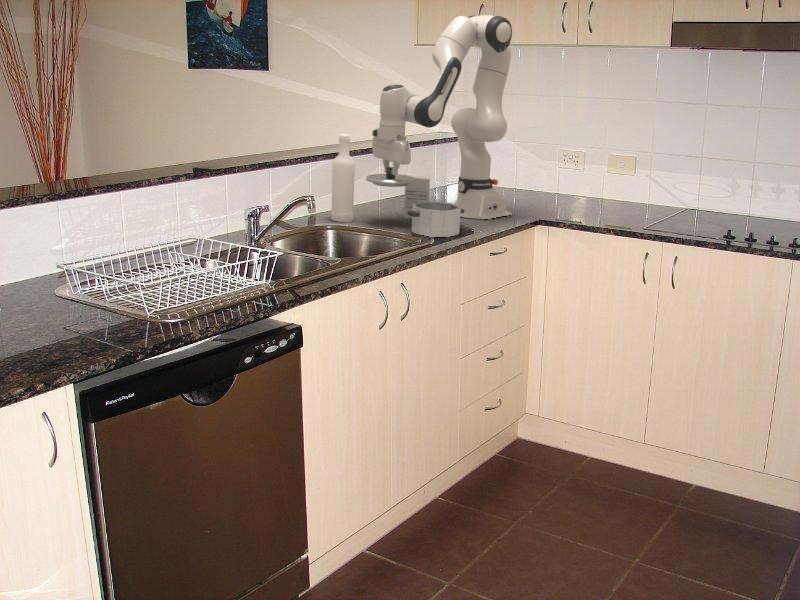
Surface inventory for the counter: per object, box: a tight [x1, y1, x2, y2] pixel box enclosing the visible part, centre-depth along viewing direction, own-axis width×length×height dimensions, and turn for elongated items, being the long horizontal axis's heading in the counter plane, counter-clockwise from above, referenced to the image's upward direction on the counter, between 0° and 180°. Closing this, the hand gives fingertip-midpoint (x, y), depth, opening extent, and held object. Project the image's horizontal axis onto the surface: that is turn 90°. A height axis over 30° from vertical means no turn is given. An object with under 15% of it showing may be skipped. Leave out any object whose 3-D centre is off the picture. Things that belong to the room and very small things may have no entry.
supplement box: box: [403, 173, 431, 219], centre depth 322 cm, size 9×9×15 cm
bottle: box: [330, 133, 356, 223], centre depth 308 cm, size 8×8×30 cm
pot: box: [408, 201, 464, 238], centre depth 299 cm, size 20×16×9 cm
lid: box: [365, 166, 415, 188], centre depth 306 cm, size 17×17×6 cm
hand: (390, 173), depth 306 cm, fingers closed on lid, 3 cm apart
